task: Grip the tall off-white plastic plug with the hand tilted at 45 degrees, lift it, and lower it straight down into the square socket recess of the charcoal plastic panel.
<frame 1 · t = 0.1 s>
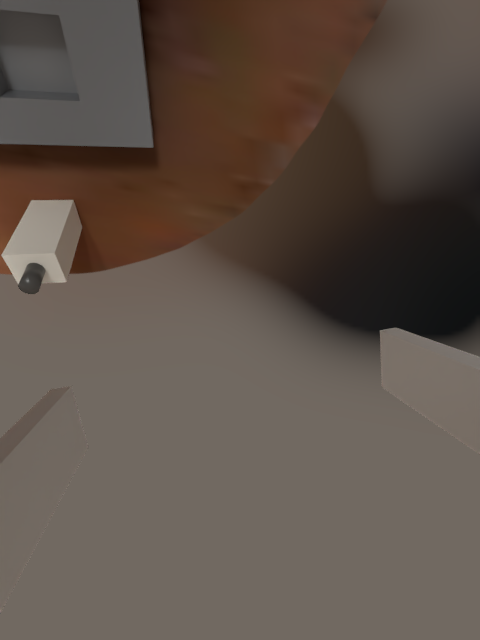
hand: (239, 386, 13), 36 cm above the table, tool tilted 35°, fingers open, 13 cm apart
plug: (58, 214, 41), on the table
socket panel: (38, 51, 30), on the table
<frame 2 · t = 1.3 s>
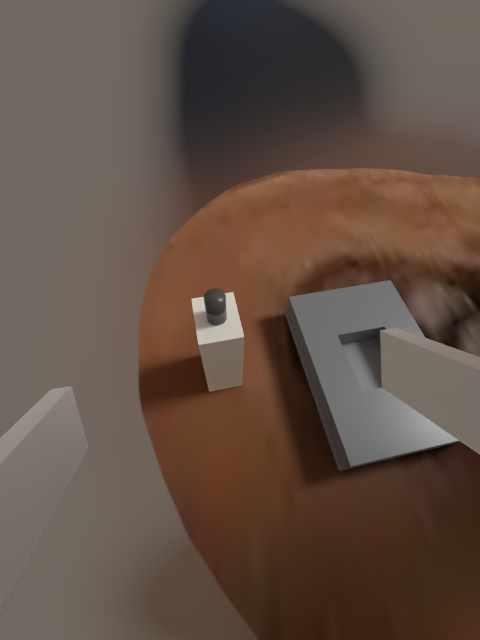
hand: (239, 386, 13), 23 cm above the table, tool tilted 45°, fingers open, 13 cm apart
plug: (222, 369, 38), on the table
socket panel: (361, 370, 38), on the table
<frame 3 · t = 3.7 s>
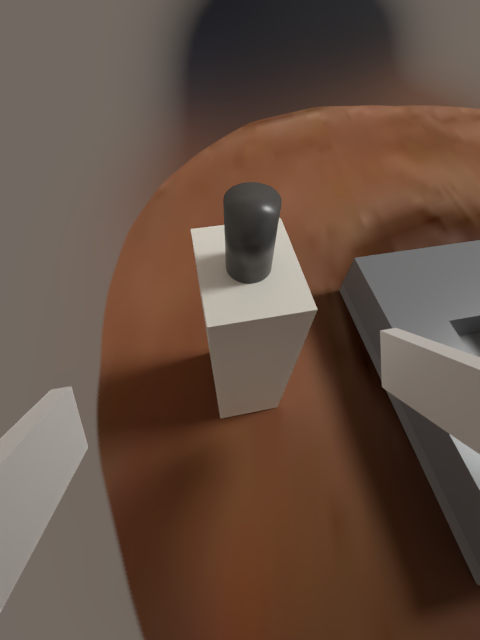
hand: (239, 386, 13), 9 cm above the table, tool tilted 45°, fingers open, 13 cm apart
plug: (241, 378, 22), on the table
socket panel: (479, 383, 22), on the table
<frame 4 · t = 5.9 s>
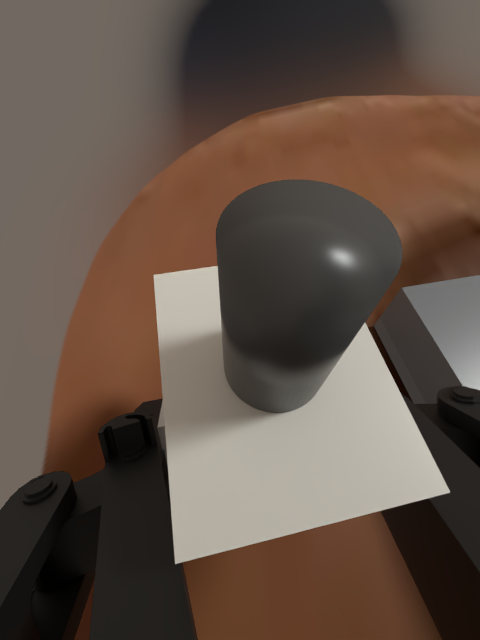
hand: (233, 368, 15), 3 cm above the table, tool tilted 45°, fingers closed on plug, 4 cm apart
plug: (247, 461, 16), on the table, touching gripper
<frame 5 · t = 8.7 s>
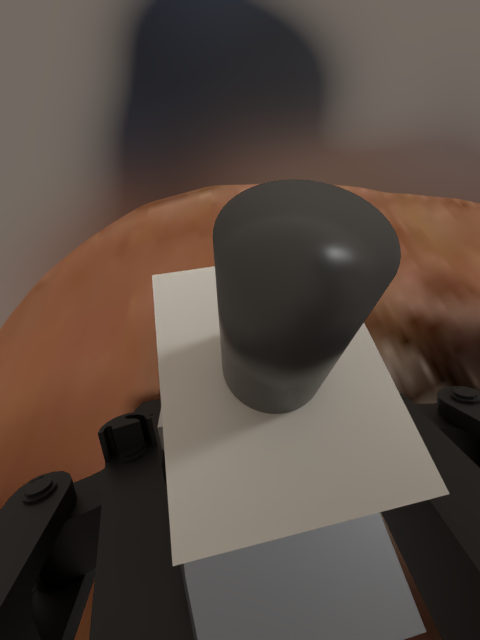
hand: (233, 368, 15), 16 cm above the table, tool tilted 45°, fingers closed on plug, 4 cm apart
plug: (246, 462, 16), point 13 cm above the table, touching gripper
socket panel: (266, 483, 26), on the table
when the fingers open (6 cm above the table, at t = 11.7 s): plug drops 1 cm, resting on socket panel.
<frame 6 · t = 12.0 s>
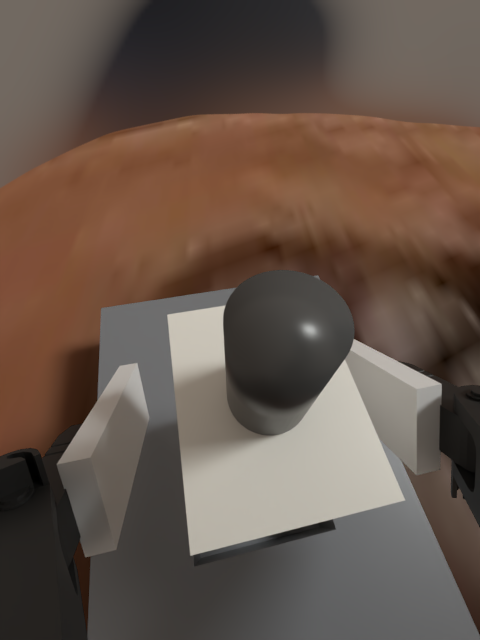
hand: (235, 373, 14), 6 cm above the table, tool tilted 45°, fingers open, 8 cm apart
plug: (246, 466, 17), point 1 cm above the table, touching socket panel
socket panel: (245, 468, 18), on the table
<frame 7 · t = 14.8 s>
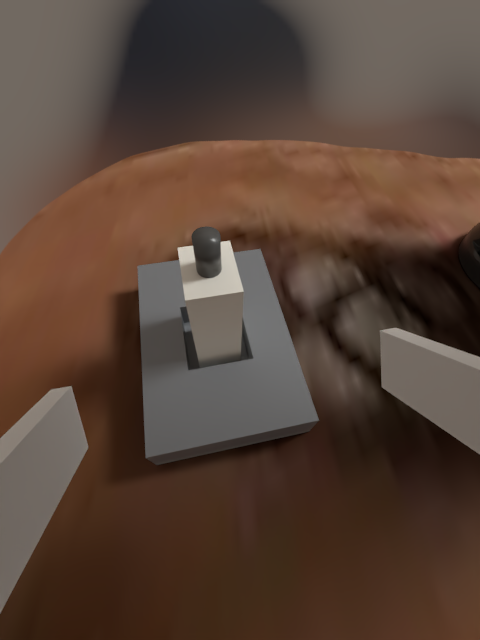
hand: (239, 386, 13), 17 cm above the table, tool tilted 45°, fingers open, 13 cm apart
plug: (216, 346, 32), point 1 cm above the table, touching socket panel
socket panel: (216, 350, 33), on the table
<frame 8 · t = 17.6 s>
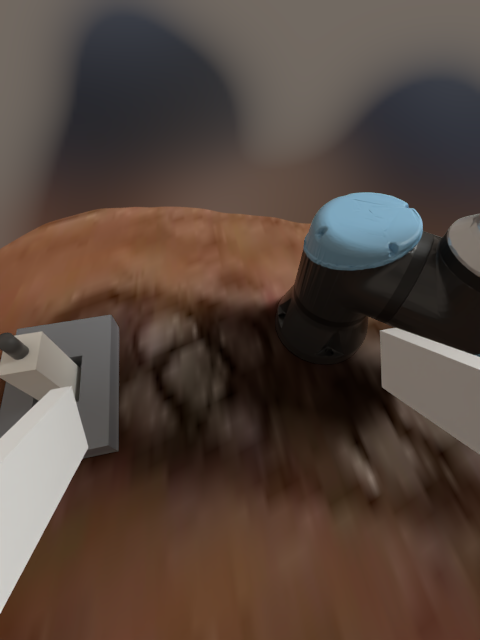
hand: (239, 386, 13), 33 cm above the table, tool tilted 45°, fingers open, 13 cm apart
plug: (68, 389, 45), point 1 cm above the table, touching socket panel
socket panel: (70, 391, 46), on the table
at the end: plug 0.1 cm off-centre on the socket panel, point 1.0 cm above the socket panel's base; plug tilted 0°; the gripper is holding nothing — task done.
